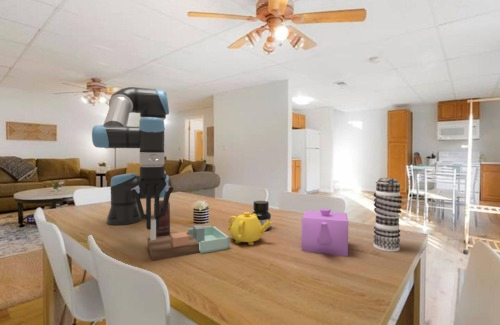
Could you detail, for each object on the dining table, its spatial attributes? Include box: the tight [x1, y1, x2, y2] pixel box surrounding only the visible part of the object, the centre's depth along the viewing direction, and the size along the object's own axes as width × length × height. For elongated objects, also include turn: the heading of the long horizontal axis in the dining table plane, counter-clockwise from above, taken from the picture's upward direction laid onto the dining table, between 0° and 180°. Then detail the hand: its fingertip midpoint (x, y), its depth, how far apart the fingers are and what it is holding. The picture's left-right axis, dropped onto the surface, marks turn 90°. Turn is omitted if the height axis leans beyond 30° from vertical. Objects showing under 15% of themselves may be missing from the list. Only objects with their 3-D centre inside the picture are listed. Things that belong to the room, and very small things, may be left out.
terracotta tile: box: [169, 231, 189, 247], centre depth 89 cm, size 5×5×3 cm
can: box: [153, 200, 171, 237], centre depth 108 cm, size 6×6×14 cm
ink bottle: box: [250, 200, 272, 231], centre depth 118 cm, size 10×9×12 cm
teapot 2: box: [301, 208, 349, 257], centre depth 94 cm, size 15×25×14 cm, turn 162°
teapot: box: [226, 211, 273, 246], centre depth 101 cm, size 14×14×11 cm
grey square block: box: [192, 224, 205, 242], centre depth 100 cm, size 5×5×3 cm
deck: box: [147, 232, 200, 261], centre depth 92 cm, size 14×15×3 cm
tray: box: [187, 225, 231, 255], centre depth 98 cm, size 17×10×4 cm, turn 28°
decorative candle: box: [373, 177, 403, 252], centre depth 95 cm, size 9×9×25 cm
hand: (153, 238), depth 85 cm, fingers closed
